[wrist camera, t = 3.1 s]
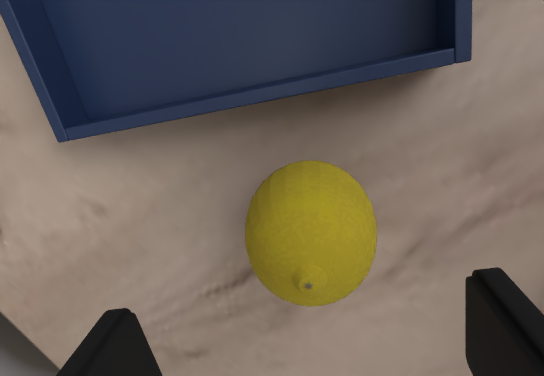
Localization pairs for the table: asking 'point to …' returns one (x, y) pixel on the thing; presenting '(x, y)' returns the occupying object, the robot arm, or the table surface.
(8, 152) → the table surface
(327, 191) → the lemon
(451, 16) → the tray
